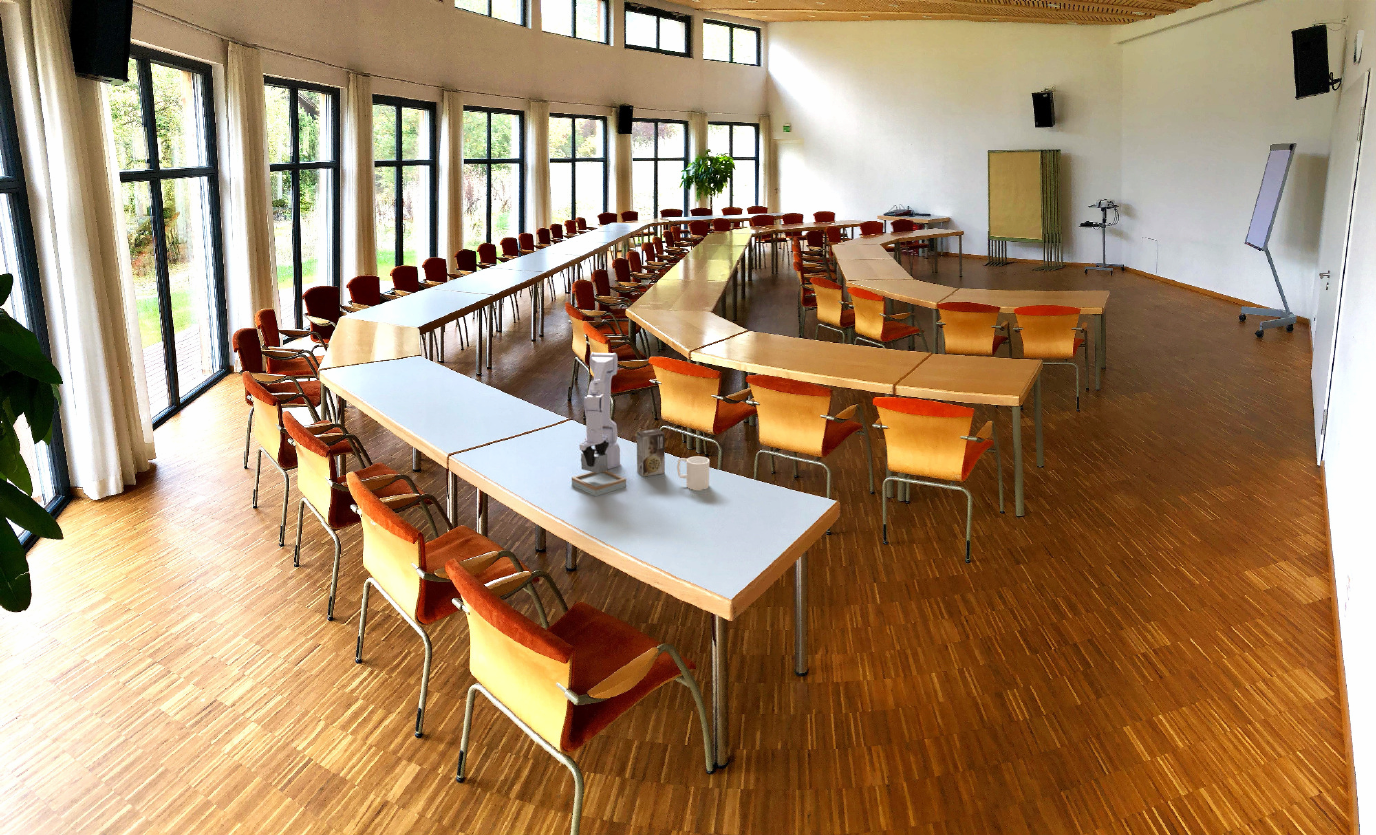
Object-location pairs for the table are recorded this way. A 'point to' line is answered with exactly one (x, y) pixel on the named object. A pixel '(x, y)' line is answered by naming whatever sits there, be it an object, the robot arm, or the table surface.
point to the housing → (596, 463)
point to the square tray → (598, 482)
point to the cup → (696, 472)
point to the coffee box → (650, 452)
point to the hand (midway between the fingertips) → (595, 463)
